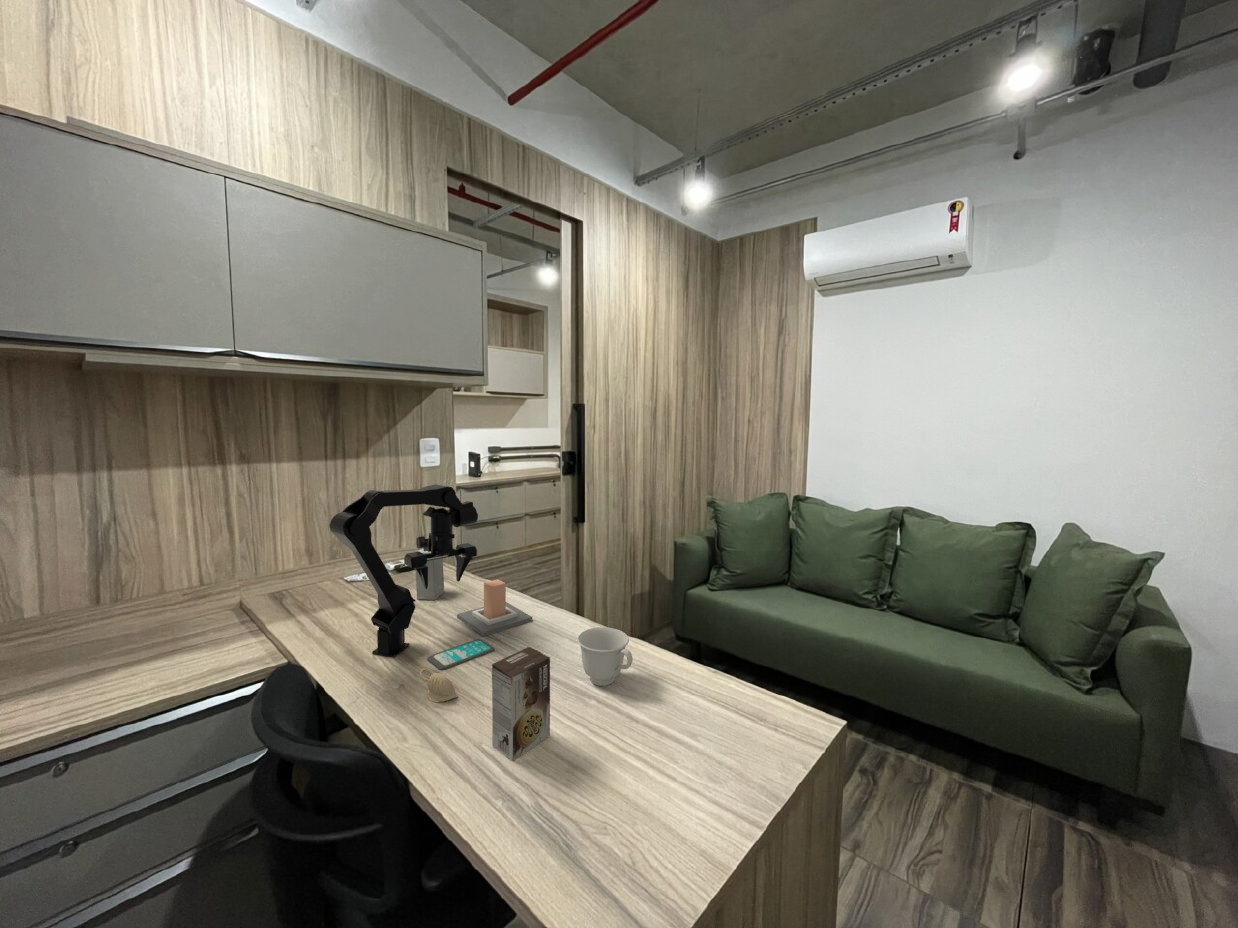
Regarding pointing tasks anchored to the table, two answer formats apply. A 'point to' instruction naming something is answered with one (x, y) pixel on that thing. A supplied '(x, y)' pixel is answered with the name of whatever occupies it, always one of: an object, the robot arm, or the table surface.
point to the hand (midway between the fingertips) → (442, 584)
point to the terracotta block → (494, 599)
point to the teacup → (604, 653)
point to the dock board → (493, 620)
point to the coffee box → (520, 702)
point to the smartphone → (460, 654)
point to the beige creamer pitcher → (439, 687)
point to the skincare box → (431, 580)
